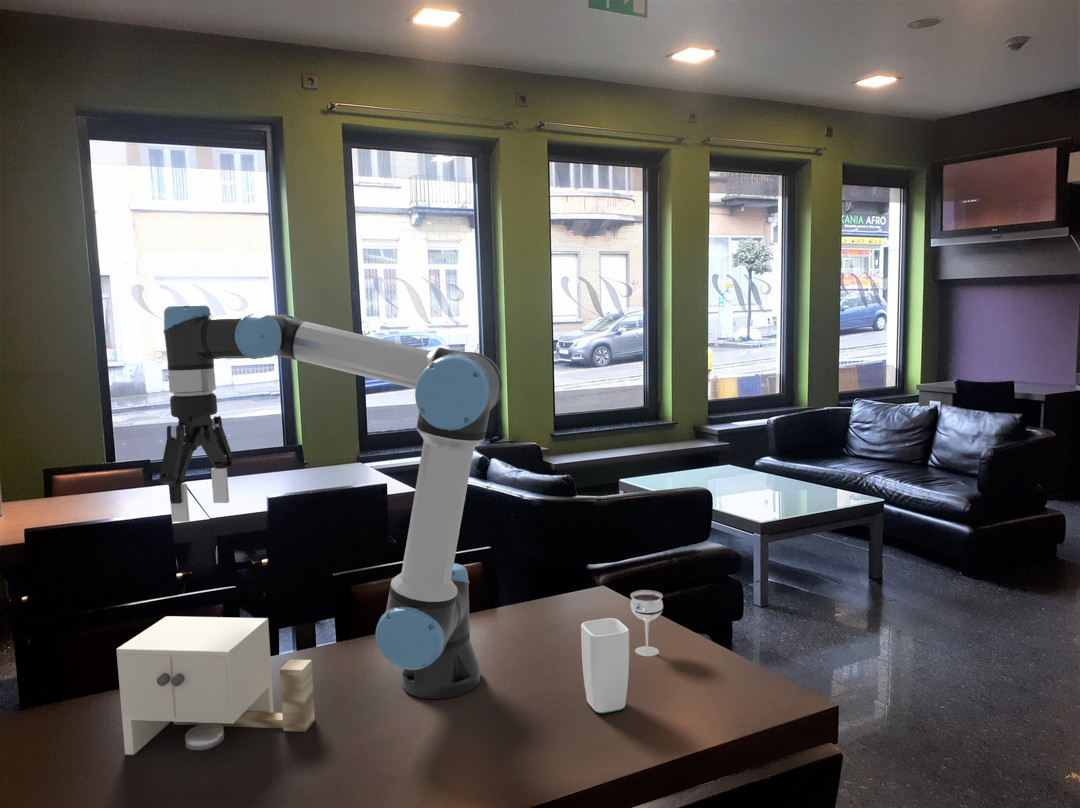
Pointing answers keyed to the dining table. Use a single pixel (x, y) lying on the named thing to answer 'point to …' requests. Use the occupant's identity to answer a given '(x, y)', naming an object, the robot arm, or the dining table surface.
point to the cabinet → (193, 674)
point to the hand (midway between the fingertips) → (202, 511)
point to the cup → (605, 663)
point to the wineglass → (646, 614)
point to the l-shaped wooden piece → (284, 702)
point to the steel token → (204, 736)
